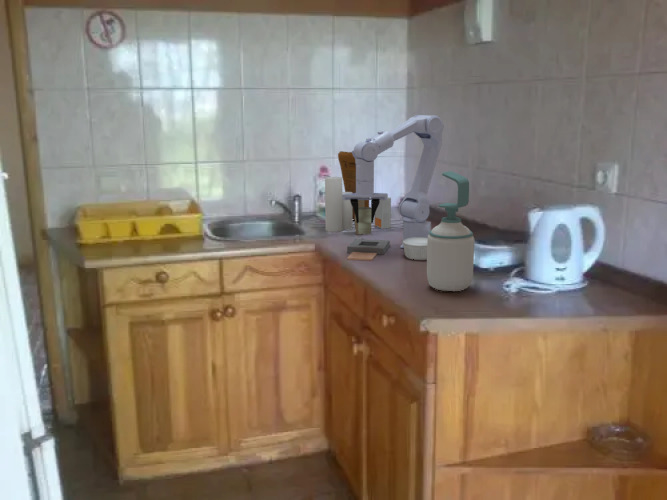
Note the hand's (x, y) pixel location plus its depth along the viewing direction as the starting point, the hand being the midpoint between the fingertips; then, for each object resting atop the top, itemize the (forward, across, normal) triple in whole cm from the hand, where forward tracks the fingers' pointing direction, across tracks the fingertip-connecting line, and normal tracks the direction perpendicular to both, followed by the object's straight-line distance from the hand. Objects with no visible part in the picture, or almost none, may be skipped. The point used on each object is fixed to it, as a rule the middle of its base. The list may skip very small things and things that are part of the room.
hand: (364, 222), depth 222 cm
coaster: (+10, +1, +5) cm, 12 cm away
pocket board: (+10, -2, -6) cm, 12 cm away
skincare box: (+11, -9, -43) cm, 45 cm away
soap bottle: (+11, -21, +40) cm, 46 cm away
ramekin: (+11, -18, +5) cm, 21 cm away
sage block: (+3, 0, 0) cm, 4 cm away
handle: (+11, 0, -31) cm, 33 cm away
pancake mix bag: (+11, +1, -58) cm, 59 cm away
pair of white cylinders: (+11, +8, -40) cm, 42 cm away
